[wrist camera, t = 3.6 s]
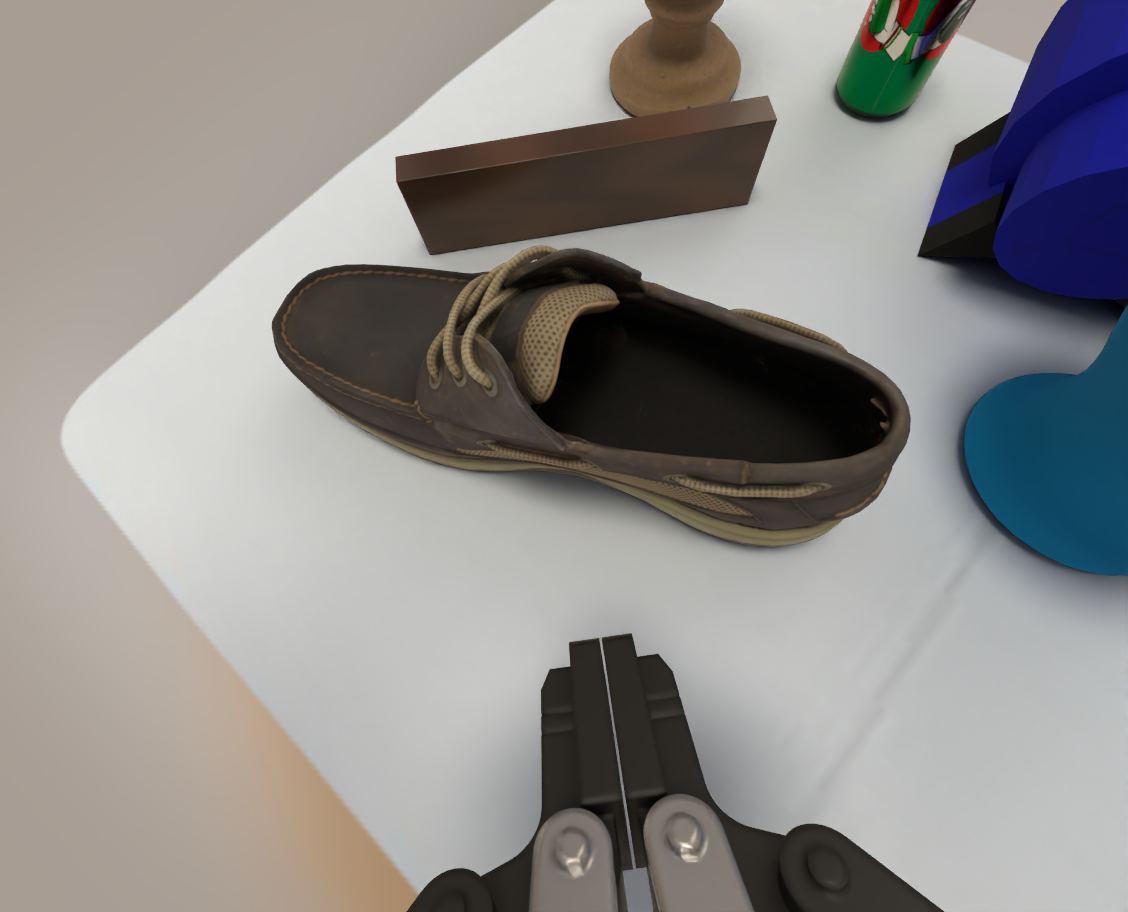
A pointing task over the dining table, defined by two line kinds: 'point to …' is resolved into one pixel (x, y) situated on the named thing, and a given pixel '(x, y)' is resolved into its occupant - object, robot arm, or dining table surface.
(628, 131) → the thin brown rectangular board
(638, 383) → the boat shoe
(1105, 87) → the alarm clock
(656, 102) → the candle holder
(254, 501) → the dining table surface
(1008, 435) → the vase
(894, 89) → the soda can
